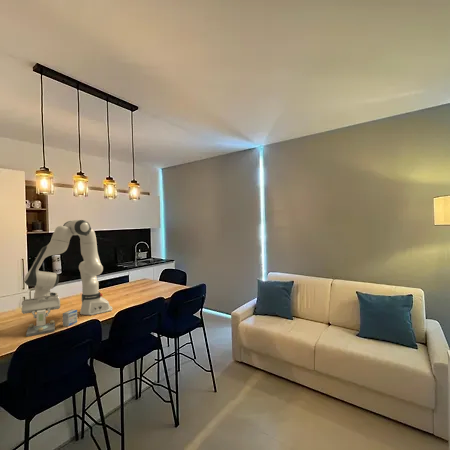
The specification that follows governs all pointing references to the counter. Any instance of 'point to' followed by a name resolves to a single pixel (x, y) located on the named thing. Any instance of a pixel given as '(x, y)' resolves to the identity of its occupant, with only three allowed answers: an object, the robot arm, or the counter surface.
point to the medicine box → (69, 318)
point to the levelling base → (35, 332)
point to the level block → (41, 317)
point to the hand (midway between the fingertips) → (41, 316)
